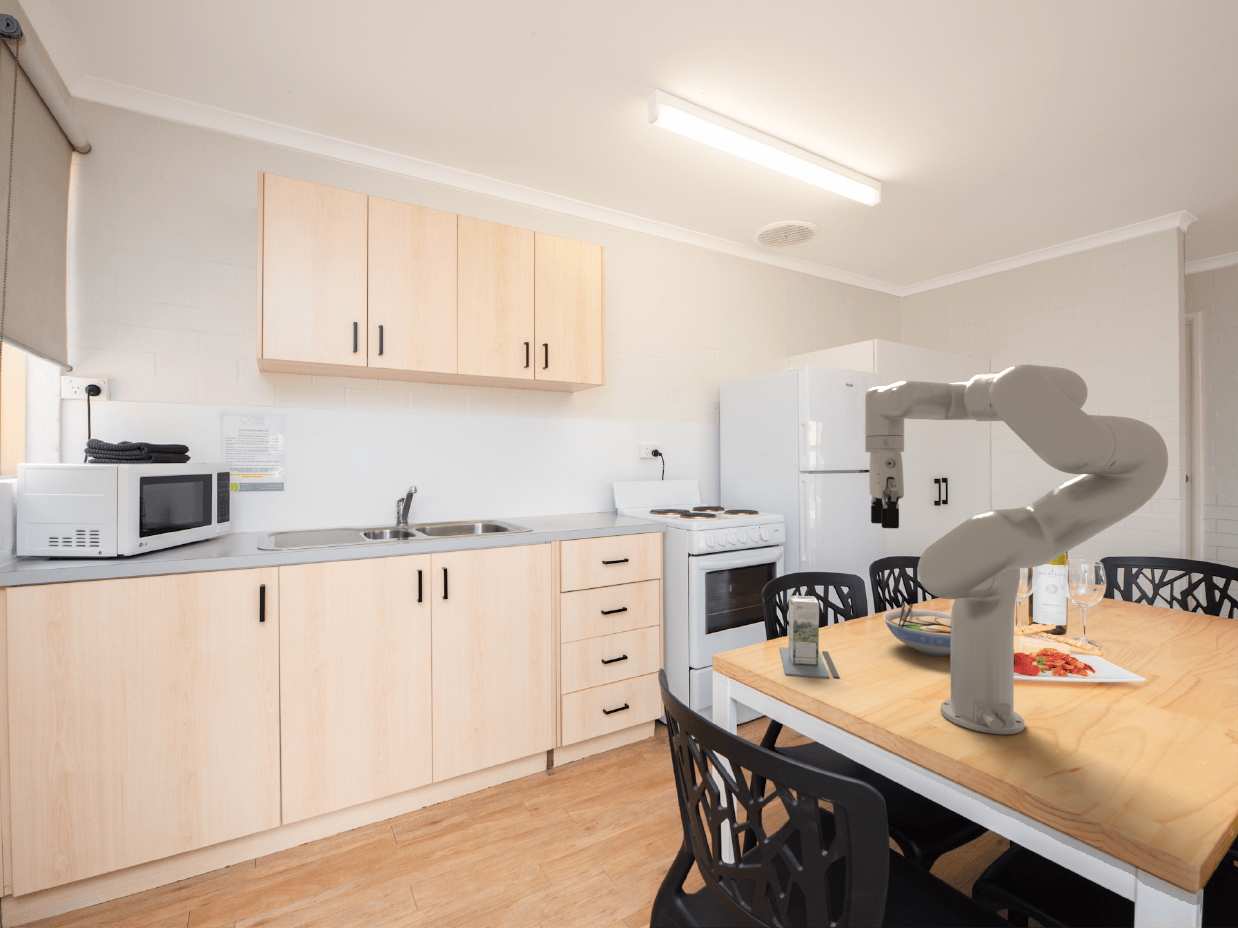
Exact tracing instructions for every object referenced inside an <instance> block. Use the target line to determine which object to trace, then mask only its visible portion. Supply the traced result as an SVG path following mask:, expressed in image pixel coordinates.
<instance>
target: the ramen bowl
mask: <svg viewBox="0 0 1238 928" xmlns="http://www.w3.org/2000/svg"><path fill="white" fill-rule="evenodd" d="M901 605H902V606H901V609H896V610H890V611H887V612H885V613H883V614H882V617H883V620H884V621H885V624H886V626H887V627H888V629H889V631H890V632H891V634H893V636H894V637H895V638H896V639H897V640H899V641H900V642H902V643H903V644H905V645H906V646H909V647H910V648H913V649H916V651H918V652H920V653H922V654H924V655H929V656H936V657H947V656H951V613H949V612H943V611H937V610H927V609H913V606H914V605H913V603H910V604H909V606H908V609H906V608H905V607H906V603H905V602H903V603H902V604H901Z"/></svg>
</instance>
